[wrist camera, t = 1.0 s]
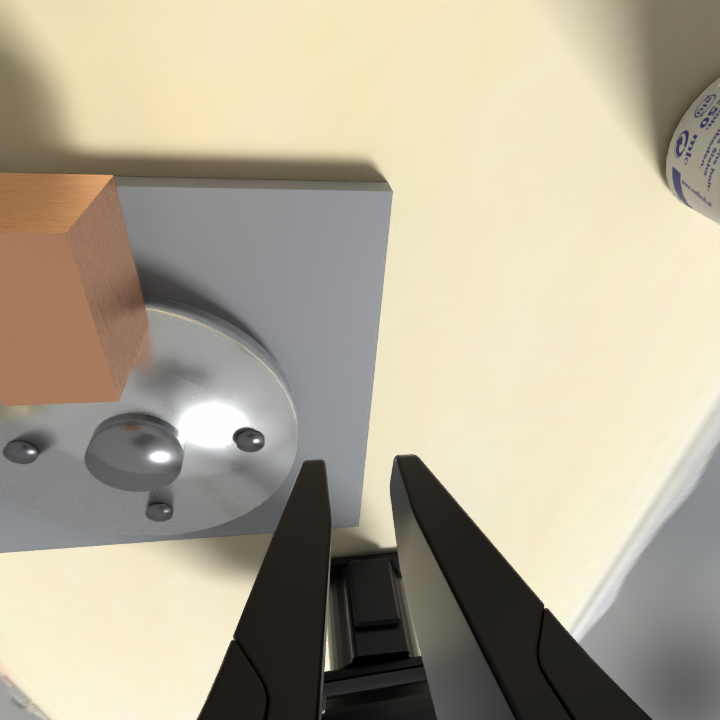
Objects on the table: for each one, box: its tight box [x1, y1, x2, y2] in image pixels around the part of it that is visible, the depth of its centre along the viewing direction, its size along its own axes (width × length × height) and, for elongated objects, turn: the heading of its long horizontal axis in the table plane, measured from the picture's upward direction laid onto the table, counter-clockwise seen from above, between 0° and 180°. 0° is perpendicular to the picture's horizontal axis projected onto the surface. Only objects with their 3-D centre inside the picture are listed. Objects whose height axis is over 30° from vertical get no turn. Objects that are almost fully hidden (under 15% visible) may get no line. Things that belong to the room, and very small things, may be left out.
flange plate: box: [0, 173, 298, 536], centre depth 18 cm, size 18×13×5 cm
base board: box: [0, 176, 393, 553], centre depth 22 cm, size 20×20×2 cm
